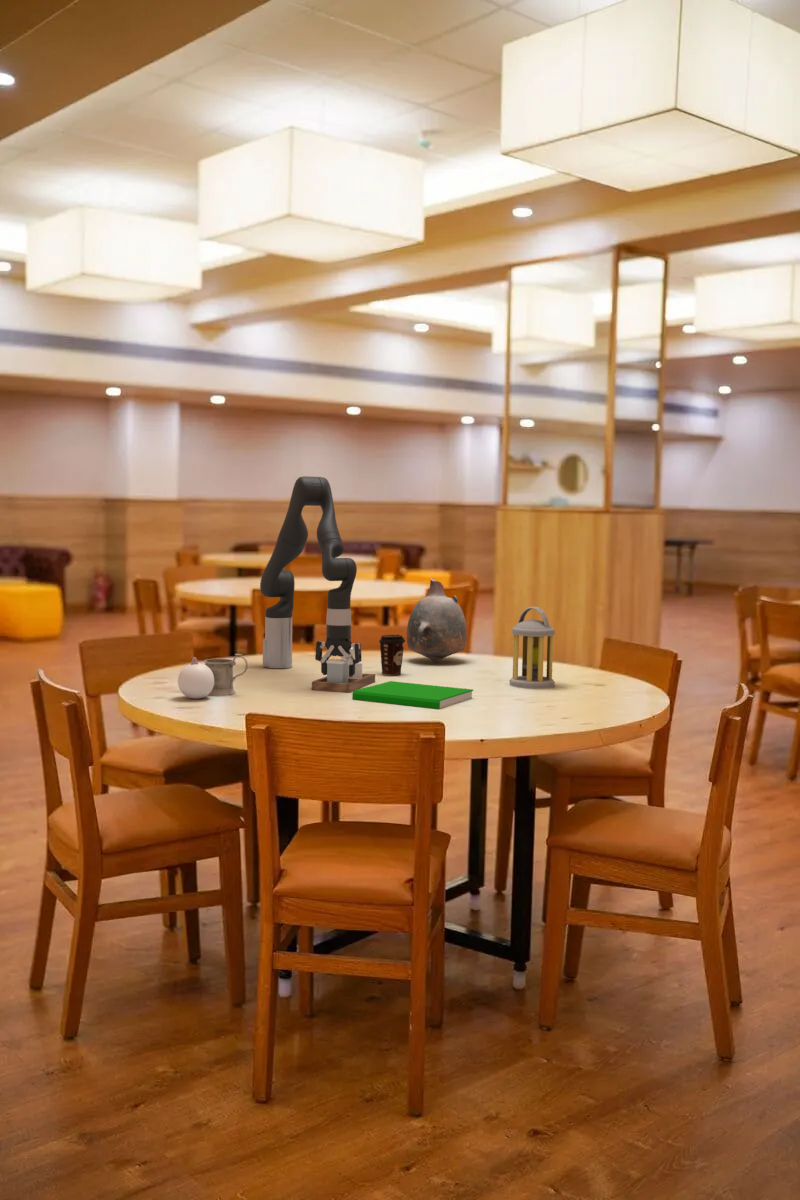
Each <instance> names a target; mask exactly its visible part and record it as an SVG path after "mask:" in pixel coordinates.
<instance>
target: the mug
mask: <svg viewBox="0 0 800 1200" xmlns="http://www.w3.org/2000/svg"><path fill="white" fill-rule="evenodd" d="M234 655H235V656H233V659H230V658H229V659H228V658H210V659H205V660H204V663H205V664H204V665H206V666H208V667H209V668H210V669H211V671H212V673H213V675H214V686H213V689H212V691H211V692H210V693H209V694H208V695H207V696H213V697H215V696H216V697H219V696H221V697H223V696H233V695H235V694H237V692H236V691H235V689H234V685H233V684H234V681H235V679H236V678H237V677H240V676H243V675H244V674H245V673H246V672H247V671H248V665H249V663H248V660H247V658H245V657H244V655H243V654H242V653H235V654H234ZM237 658H241V659H243V660H244V662H245V668H244V670H243V672H240V673H239V674H236V675H235V676H234V666H236V664H237V663H236V659H237Z"/></svg>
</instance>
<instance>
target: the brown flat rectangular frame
mask: <svg viewBox="0 0 800 1200" xmlns="http://www.w3.org/2000/svg"><path fill="white" fill-rule="evenodd" d="M373 683H376V673H368V672H367V673H365V672H364V673H363V672H362V678H360V679H359V678H348V684H347V683H333V682H327V675H325V676H324V677H321V678H319V679H316V680H313V681H311V691H324V692H334V693H335V692H337V693H348V694H349V693H353V691H354V690H358V689H362V688H365V687H368V686H369V685H371V684H373Z"/></svg>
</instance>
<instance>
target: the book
mask: <svg viewBox="0 0 800 1200" xmlns="http://www.w3.org/2000/svg"><path fill="white" fill-rule="evenodd" d="M473 691H474V689H473V688H471V689H470V688H463V687H462V688H460V687H451V686H442V685H441V686H440V685H434V684H433V685H432V684H421V683H412V682H405V681H404V682H401V681H394V680H391V681H386V682H383V683H378V684H375V685H370V686H365V687H362V688H360V689H357V690H354V691H353V692H351V695H352V701H354V700H355V701H364V702H371V703H372V702H374V703H382V704H391V705H398V706H399V705H400V706H406V707H407V706H408V707H416V708H425V709H434V710H440V709H442V708H445V707H448V706H451V705H454V704H455V705H456V704H458V703H461V702H464V701H467V700H470V699H472V698H473Z"/></svg>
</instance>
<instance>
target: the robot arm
mask: <svg viewBox="0 0 800 1200" xmlns="http://www.w3.org/2000/svg"><path fill="white" fill-rule="evenodd" d="M333 498H334V497H333V493H332V488H331V484H330V482H329V480H328V479H327V477H323V476H322V477H321V476H309V475H307V476H305V475H304V476H300V477H298V478H297V479H296V481H295V482H294V485H293V488H292V493H291V496H290V499H289V504H288V508H287V512H286V513H285V517H284V520H283V523H282V525H281V528H280V532H279V534H278V536H277V539H276V543H275V545H274V548H273V551H272V554H271V555H270V558H269V560H268V562H267V564H266V566H265V569H264V570H263V572H262V574H261V578H260V583H259V584H260V586H259V589H260V593H261V595H263V596H264V597H266V598H279V600H278V601H277V602H276V603H274V604H273V605H272V606H268V607H266V609H265V611H264V612H265V614H264V615H265V617H264V619H265V620H264V624H265V625H264V626H265V629H264V631H265V633H264V634H265V635H264V638H263V639H262V668H269V669H288V668H292V667H293V613H294V611H293V610H294V599H295V587H296V586H295V585H296V584H295V583H296V582H295V576H294V574H293V571H291V570H289V569H285V568H286V567H287V566H288V565H289V564H291V563H292V562H293V561H295V559H296V558H298V557H299V556H300V555H301V554H302V553H303V551H304V549H305V547H306V543H307V541H308V538H309V531H308V527H307V524H306V521H305V520H304V518H303V515H302V512H303V510H304V507H305V506H310V507H311V506H314V507H316V506H317V507H320V508H321V510H322V515H321V518H320V520H319V522H318V524H317V528H316V537H317V538H316V539H317V542H318V545H319V548H320V551H321V573H322V577H323V578H324V579H325V580H326V581H328V582H340V583H341V584H340V585H339V586H338V587H335V588H331V589H329V590H328V591H327V602H326V603H327V610H326V621H325V622H326V625H325V626H326V630H325V631H326V641H323V640H317V641H316V643H315V644H316V645H315V661H318V662H320V664H321V665H320V667H321V668H320V670H321V671H320V672H321V674H322V675H323V676H327V663H326V661H327V660H330V659H331V657H340V658H341V657H342V656H344V657H345V658H346V659H347V660H348V662H349V663H350V665H349V677H353V675H355V664H356V663H359V662H361V661H362V644H361V642H356V643H355V642H354V643H353V642H352V640H351V639H352V611H351V596H352V590H353V586H354V583H355V580H356V577H357V576H356V575H357V571H358V567H357V563H356V561H355V560H354V559H353V558H351V557H341V555H342V554H343V553H344V551H345V550H344V549H345V547H344V544H343V541H342V537H341V535H340V531H339V528H338V524H337V518H336V513H335V504H334V499H333ZM351 647H352V648H353V650H355V659H354V658H353V655H352V654H351V652H350V651H349V650H350V649H351ZM324 648H326V652H324V655H323V649H324ZM362 662H363V661H362Z"/></svg>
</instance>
